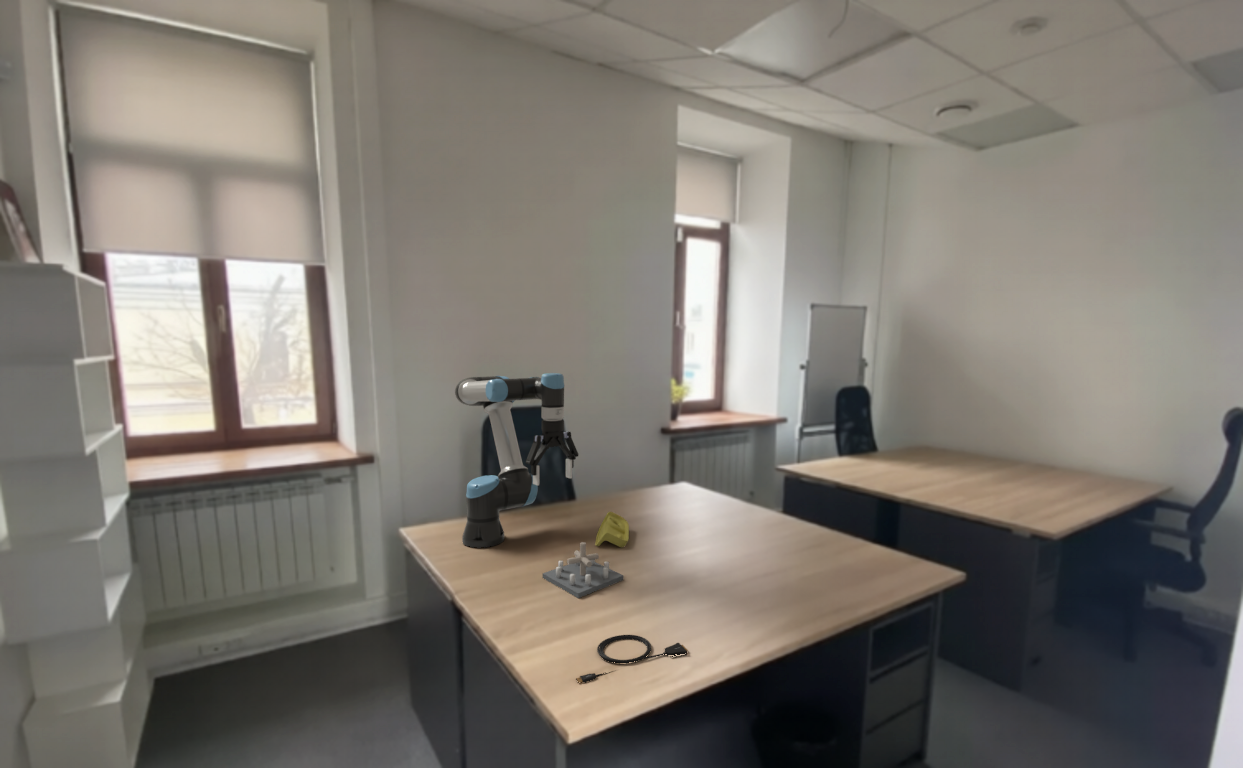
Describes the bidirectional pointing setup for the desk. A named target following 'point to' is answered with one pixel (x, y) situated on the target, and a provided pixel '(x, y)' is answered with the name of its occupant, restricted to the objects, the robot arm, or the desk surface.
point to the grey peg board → (582, 578)
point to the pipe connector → (582, 558)
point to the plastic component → (613, 530)
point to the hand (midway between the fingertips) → (552, 481)
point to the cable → (669, 650)
